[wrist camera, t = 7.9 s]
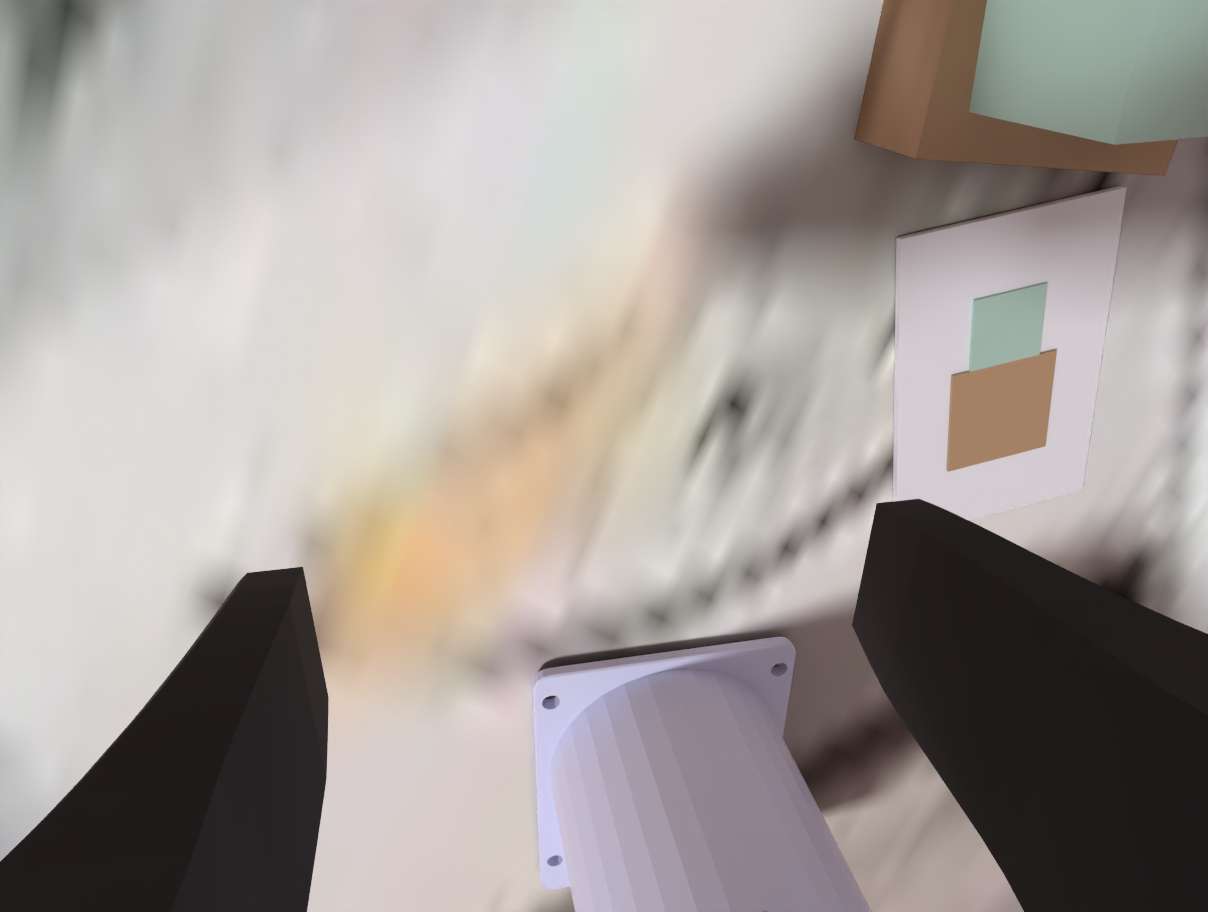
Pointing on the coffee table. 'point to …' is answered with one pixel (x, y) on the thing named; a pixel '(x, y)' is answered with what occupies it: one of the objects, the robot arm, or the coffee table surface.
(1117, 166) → the walnut brick
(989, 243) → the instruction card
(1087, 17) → the green brick
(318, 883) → the coffee table surface
